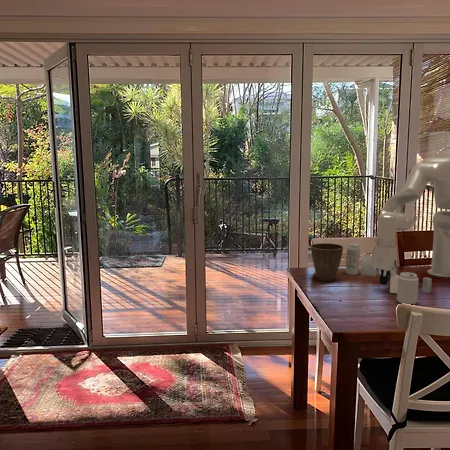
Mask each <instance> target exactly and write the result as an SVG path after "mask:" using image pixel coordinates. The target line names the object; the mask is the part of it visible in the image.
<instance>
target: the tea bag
mask: <svg viewBox="0 0 450 450" xmlns="http://www.w3.org/2000/svg"><path fill="white" fill-rule="evenodd" d="M371 263H372V254H366V253H363V254H362V259H361V263H360V275H363V276H368V277H376V276H377V275H378V271H377V270H375V269H373V266H372V264H371Z"/></svg>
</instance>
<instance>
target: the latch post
mask: <svg viewBox="0 0 450 450" xmlns="http://www.w3.org/2000/svg"><path fill="white" fill-rule="evenodd" d="M432 281H433V279H432V278H430V277H428V276H427V277H423V278H422V289H421V292H422V293H423V292H424V293H426V294H428V293H431V292H432Z"/></svg>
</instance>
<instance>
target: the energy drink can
mask: <svg viewBox="0 0 450 450" xmlns="http://www.w3.org/2000/svg"><path fill="white" fill-rule="evenodd" d="M360 252H361V251H360V246H359V244H358V243H349V244H348V245H347V247H346V260H345V261H346V262H345V264H346V265H345V273H346V275H347V276H357V275H358V274H359V273H360V272H359V270H360Z"/></svg>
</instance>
